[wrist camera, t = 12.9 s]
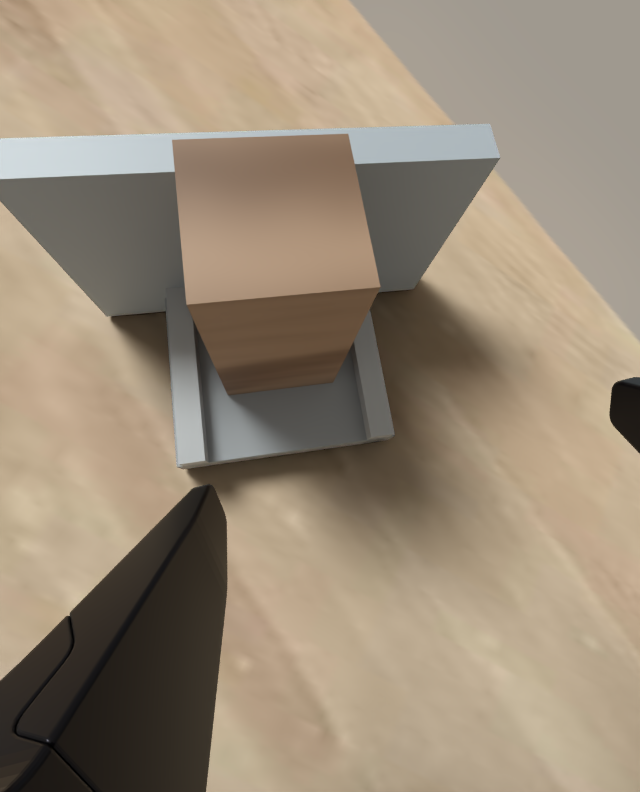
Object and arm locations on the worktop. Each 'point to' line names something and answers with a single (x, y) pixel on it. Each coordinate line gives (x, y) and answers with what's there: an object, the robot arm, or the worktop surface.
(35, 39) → the worktop surface
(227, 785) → the worktop surface
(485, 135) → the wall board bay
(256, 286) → the walnut cabinet block
